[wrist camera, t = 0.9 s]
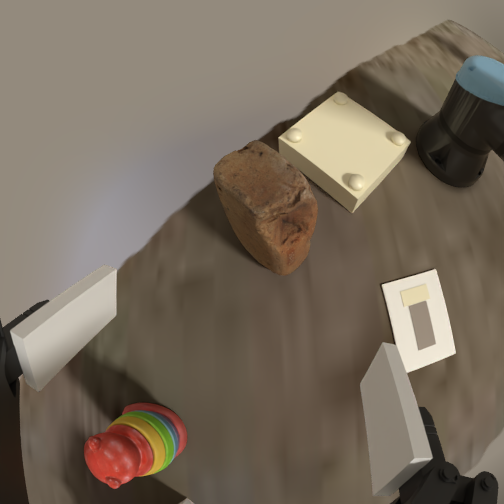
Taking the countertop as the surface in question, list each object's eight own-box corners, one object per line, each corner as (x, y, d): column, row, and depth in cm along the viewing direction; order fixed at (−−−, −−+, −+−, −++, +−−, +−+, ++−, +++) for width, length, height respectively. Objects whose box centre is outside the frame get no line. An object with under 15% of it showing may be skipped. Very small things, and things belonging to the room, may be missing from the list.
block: (232, 236, 48) (198, 166, 29) (268, 206, 49) (256, 123, 30) (279, 288, 45) (273, 243, 26) (316, 254, 45) (335, 190, 26)
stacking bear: (121, 405, 41) (49, 423, 25) (175, 394, 41) (115, 416, 25) (143, 464, 38) (82, 505, 21) (199, 457, 38) (153, 507, 21)
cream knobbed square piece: (335, 109, 53) (338, 87, 48) (402, 157, 49) (412, 138, 43) (279, 155, 51) (278, 133, 46) (351, 213, 47) (359, 196, 41)
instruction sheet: (435, 269, 42) (436, 268, 42) (454, 353, 38) (456, 353, 38) (381, 284, 43) (382, 284, 43) (401, 374, 39) (402, 374, 38)
